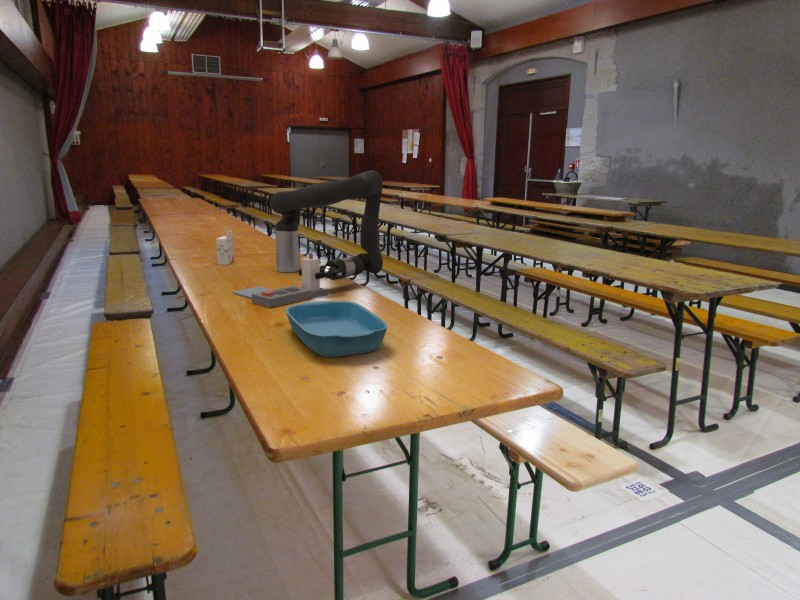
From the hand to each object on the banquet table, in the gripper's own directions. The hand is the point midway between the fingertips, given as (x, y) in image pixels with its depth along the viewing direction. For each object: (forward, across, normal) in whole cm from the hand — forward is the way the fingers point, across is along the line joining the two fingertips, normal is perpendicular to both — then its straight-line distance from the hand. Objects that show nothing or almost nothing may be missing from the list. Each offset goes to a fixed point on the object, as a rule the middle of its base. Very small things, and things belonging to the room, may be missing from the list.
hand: (307, 274), depth 199 cm
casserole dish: (+28, +42, +8) cm, 51 cm away
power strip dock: (+7, 0, +7) cm, 11 cm away
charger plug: (-2, 0, +8) cm, 8 cm away
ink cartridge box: (-13, -68, +8) cm, 70 cm away
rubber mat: (+11, -14, +8) cm, 20 cm away
